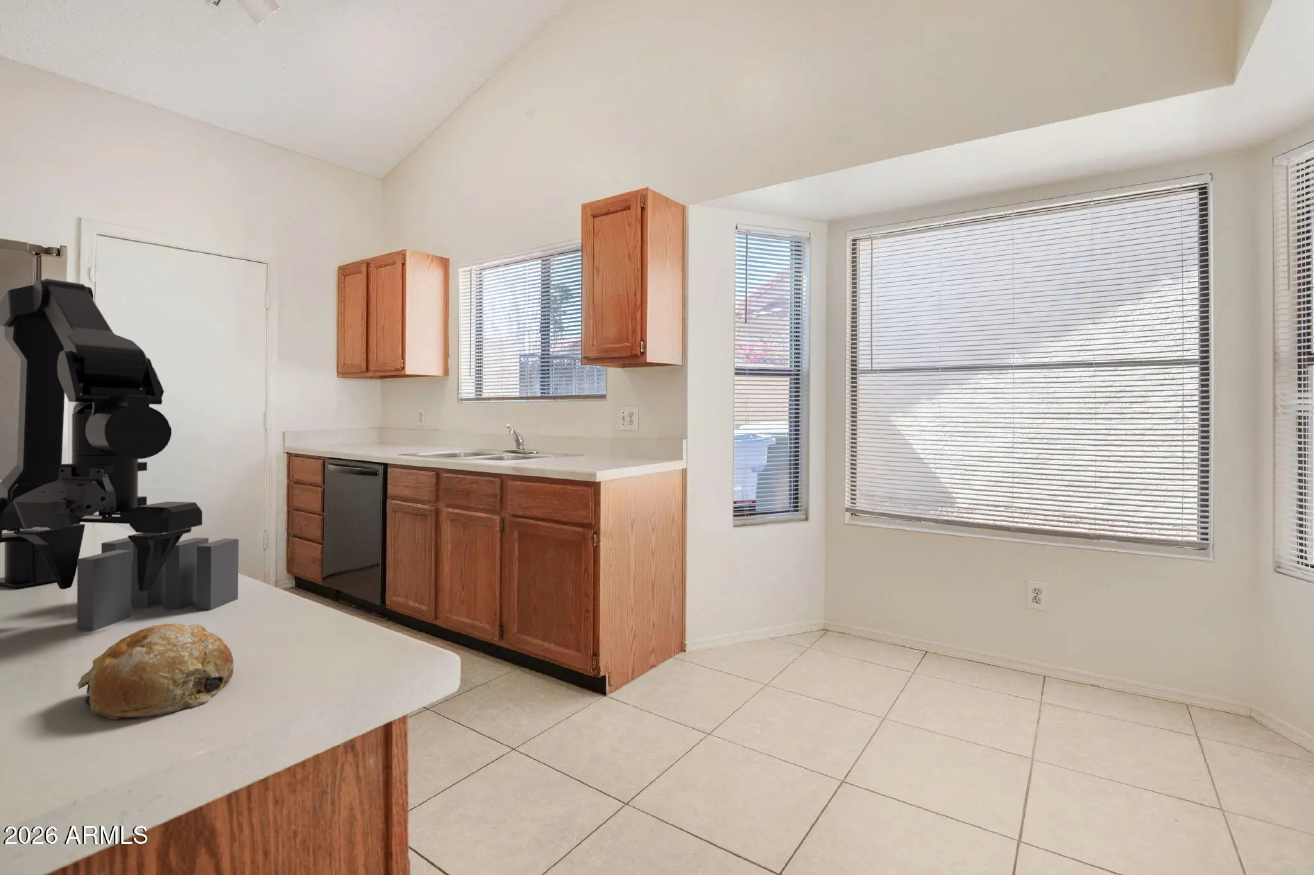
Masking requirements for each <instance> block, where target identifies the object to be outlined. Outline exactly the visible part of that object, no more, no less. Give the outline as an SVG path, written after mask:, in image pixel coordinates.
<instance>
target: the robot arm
mask: <svg viewBox="0 0 1314 875" xmlns="http://www.w3.org/2000/svg"><path fill="white" fill-rule="evenodd" d="M0 326H1V327H3V329H4V330H3V331H4V339H5V340H6V342H8V344H9V346H10V347H11V348H12V350H13V351H14V352H15V354H16V355H17V356H18V357H19V359H20V368H19V369H20V370H19V371H20V372H19V394H18V397H19V399H18V419H17V420H18V422H17V423H18V426H17V448H16V449H17V451H16V452H17V453H16V465H15V466H14V467H13V469H12V470H10V472H9V473H8V474H7V475H6V476H5V477H4V478H2V480H1V481H0V544H1V543H4V577H0V586H4V587H5V586H6V587H9V588H15V589H19V588H25V587H29V586H30V587H31V586H36V585H37V586H38V585H42V584H47V583H52V582H56V584H57V586H58V588H59V590H66V589H70V588H72V587H73V585H74V584H73V583H74V581H75V576H76V575H77V559H80V558H79V557H80V554H81V549H82V548H81V547H82V542H83V539H84V532H85V528H86V524H85V523H94V524H123V525H124V524H125V525H127V524H129V526H130V528H132V530H133V531H134V532H135V534H130V535H127V537H128V538H129V539H130V540H131V541H132V542H133V544H134V545H135V546H136V547H137V577H138V586H139V591H140V592H145V591H148V590H150V588H151V587H152V585H153V583H154V581H155V579H156V577H157V576H158V574H159V572H160V570H161V568H162V567H163V565H164V563H165V561H166V560H167V558H168V556H169V554H170V553H171V551H172V550H173V548H174V547H175V545H176V544H177V543H178V541H181V538H182V537H183V535H185V534H188V533H189V534H190V533H192V528H195V527H200V526H202V525H203V510H202V507H200V506H199V505H198V504H197V502H194V501H162V502H157V503H150V504H147V503H148V501H147V500H148V496H144V495H143V496H142V495H141V496H139V493H138V492H139V472H144V471H145V472H146V471H148V462H147V461H139V460H143V459H148V458H151V457H154V456H156V455H158V454H159V453H161V452H162V451H164V449H165V448H166V447H167V446H168V444H169V442H170V440H171V438H172V433H173V432H172V427H171V425H170V423H169V420H168V419H167V418H166V417H165V415H164V414H163V413H162V412H161V411H159V410H157V409H155V408H153V407H152V406H150V405H158V406H159V405H160V406H161V405H163V399H162V398H163V395H164V393H165V390H164V388H163V386H162V384H161V381H160V379H159V376H158V375H157V374H158V373H157V372H156V369H155V368H154V366H153V364H152V363H153V362H152V361H151V359H150V358H149V357H147V355H146V353H145V351H144V350H143V348H141V347H140V346H139V345H138V344H137V343H136V342H134V341H133V340H131V339H129V338H125V337H122V336H120V335H117V334H115V333H114V332H113V330H112V327H110V324H108V322H107V320H106V318H105V317H104V315H103V314H102V312H101V311H100V309H99V307H98V306H97V304H96V302H95V301H94V293H93V289H92V287H90V286H86V285H85V284H84V283H79V282H73V281H65V280H60V279H59V280H58V279H51V278H44V279H39V278H38V279H37V280H36V281H35V282H34V283H33V284H32V285H26V286H21V287H17V288H11V289H9V290H7V291H6V293H5V294H4V295H3V297H1V299H0ZM65 396H66V397H65ZM66 398H67V400H68V402H69V403H75V405H74V406H73V411H72V412H73V413H72V414H71V419H72V420H71V463H63V444H64V443H63V442H64V441H63V440H64V439H63V438H64V422H65V421H64V419H65V418H64V417H65V399H66ZM97 513H98V514H97ZM3 531H7V532H4V533H3Z"/></svg>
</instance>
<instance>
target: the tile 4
mask: <svg viewBox="0 0 1314 875" xmlns="http://www.w3.org/2000/svg"><path fill="white" fill-rule="evenodd" d="M206 543H210V541H209V537H192V538H188V539H184V540H179V542H178V543H177V544H176V545H175V547H174V548H173V550H172V551H171V553H170V554H169V556H168V558H167V560H166V561H165V602H164V610H181V609H184V608H185V607H188V606H192V605H194V604H196V595H197V546H199V545H202V544H206Z"/></svg>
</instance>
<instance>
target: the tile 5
mask: <svg viewBox="0 0 1314 875" xmlns="http://www.w3.org/2000/svg"><path fill="white" fill-rule="evenodd" d="M239 540H240V539H239V538H227V537H226V538H222V539H218V540H213V541H209V543H206V544H202V545H199V546H197V595H196V603H195V605H196V607H195V608H196V609H195V610H196V611H213V610H215V609H217V608H220V607H222V606H224V605H227V604H229V603H231V602H234V601H237V600H239Z"/></svg>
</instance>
